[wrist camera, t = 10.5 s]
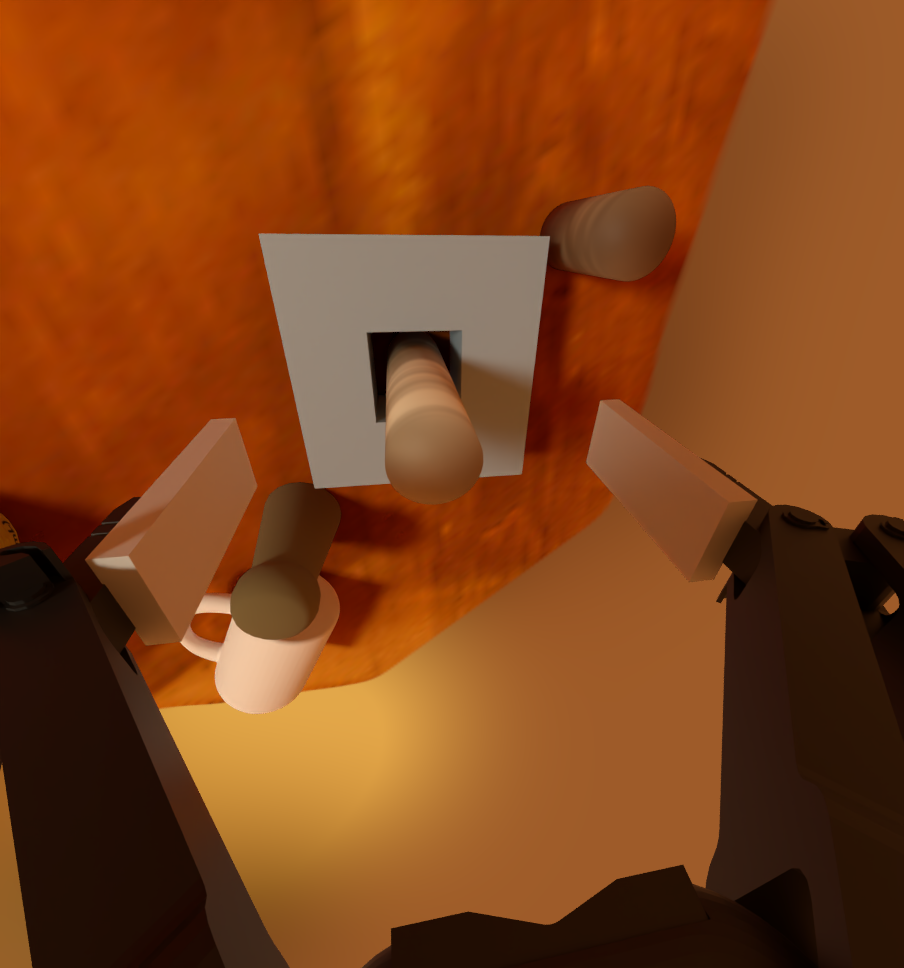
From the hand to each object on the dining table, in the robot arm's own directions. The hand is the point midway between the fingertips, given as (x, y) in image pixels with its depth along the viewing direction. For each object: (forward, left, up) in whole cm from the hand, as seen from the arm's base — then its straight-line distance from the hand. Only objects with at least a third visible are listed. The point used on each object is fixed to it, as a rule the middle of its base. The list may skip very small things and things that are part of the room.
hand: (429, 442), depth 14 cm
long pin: (0, 0, -14) cm, 14 cm away
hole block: (0, 0, -14) cm, 14 cm away
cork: (+13, -9, -15) cm, 22 cm away
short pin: (-7, +10, -14) cm, 19 cm away
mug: (+22, -15, -15) cm, 31 cm away
